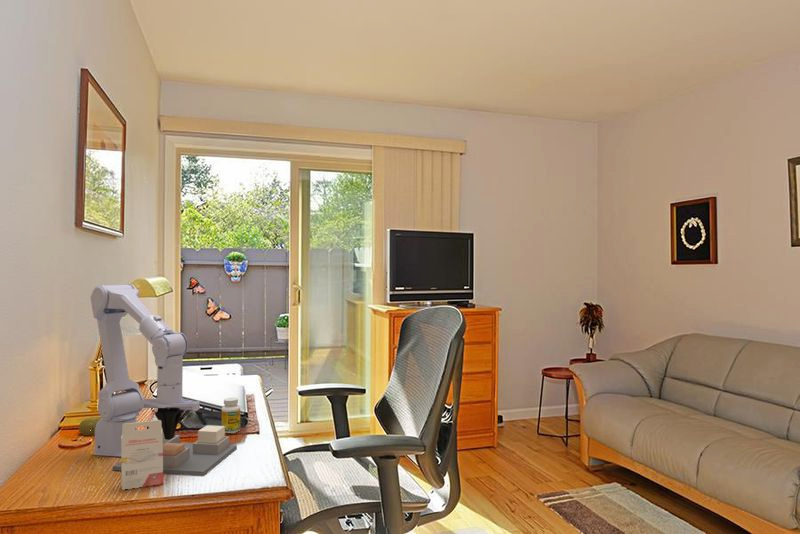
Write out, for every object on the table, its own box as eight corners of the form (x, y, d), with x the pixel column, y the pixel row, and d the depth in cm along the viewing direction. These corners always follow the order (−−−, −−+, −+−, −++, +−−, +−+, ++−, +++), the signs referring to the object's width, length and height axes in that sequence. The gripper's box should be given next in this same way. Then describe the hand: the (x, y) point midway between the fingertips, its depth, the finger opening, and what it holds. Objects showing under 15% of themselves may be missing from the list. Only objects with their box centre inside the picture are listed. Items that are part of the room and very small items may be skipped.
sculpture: (103, 422, 161) (73, 423, 160) (103, 436, 161) (73, 437, 160) (114, 415, 168) (86, 415, 168) (114, 428, 169) (85, 429, 168)
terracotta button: (154, 463, 136) (154, 449, 136) (165, 456, 141) (165, 442, 141) (174, 465, 135) (174, 450, 135) (184, 457, 140) (184, 443, 140)
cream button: (197, 444, 145) (197, 430, 145) (206, 438, 150) (206, 425, 150) (216, 445, 144) (216, 431, 144) (224, 439, 149) (224, 426, 149)
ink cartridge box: (162, 477, 131) (163, 414, 131) (163, 485, 127) (163, 420, 126) (121, 482, 128) (122, 418, 128) (120, 491, 123) (120, 424, 123)
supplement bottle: (234, 427, 170) (235, 395, 170) (243, 431, 166) (243, 399, 166) (218, 431, 166) (218, 398, 166) (226, 435, 163) (226, 402, 162)
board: (112, 470, 135) (112, 455, 135) (156, 444, 154) (156, 431, 154) (203, 475, 132) (203, 460, 132) (236, 448, 151) (236, 435, 151)
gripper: (132, 385, 135) (132, 441, 135) (189, 388, 133) (189, 445, 133) (149, 379, 142) (148, 432, 142) (203, 381, 140) (203, 435, 140)
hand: (169, 438), depth 138 cm, fingers closed
